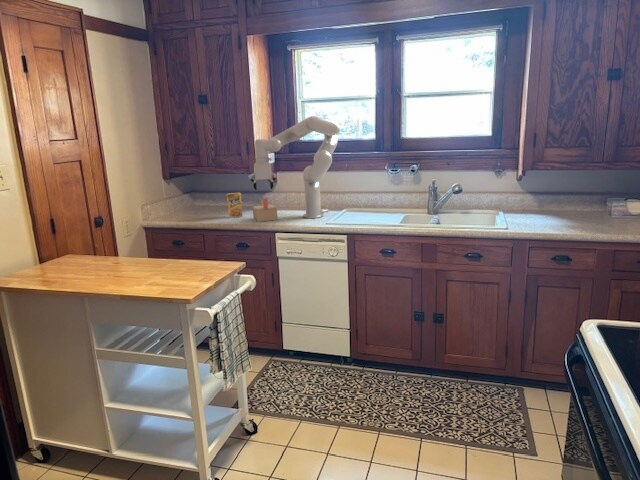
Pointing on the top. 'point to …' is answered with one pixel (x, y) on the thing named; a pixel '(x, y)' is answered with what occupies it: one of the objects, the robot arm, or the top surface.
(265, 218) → the carton
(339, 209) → the top surface
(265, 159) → the robot arm
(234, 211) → the candy box
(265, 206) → the taped cardboard box
